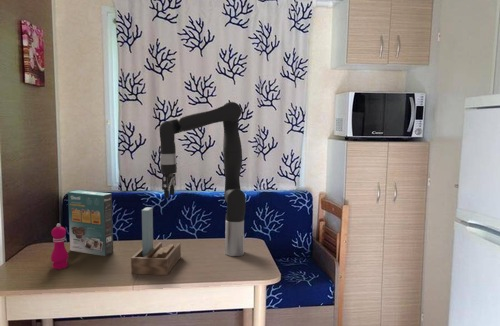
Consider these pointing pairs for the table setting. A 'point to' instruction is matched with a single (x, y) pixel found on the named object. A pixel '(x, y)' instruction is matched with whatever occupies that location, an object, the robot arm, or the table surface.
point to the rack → (155, 261)
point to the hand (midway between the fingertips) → (169, 196)
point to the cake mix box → (90, 222)
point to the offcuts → (163, 251)
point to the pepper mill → (59, 248)
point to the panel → (147, 230)
